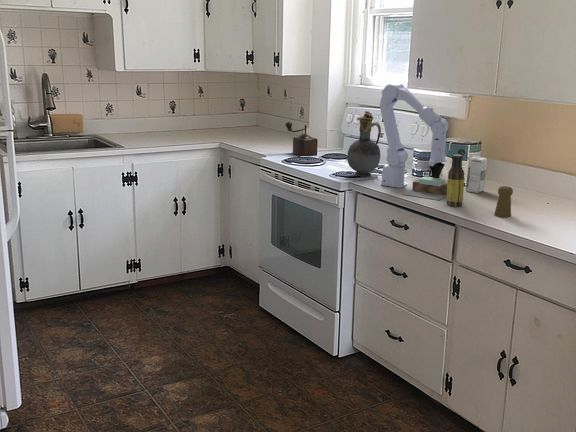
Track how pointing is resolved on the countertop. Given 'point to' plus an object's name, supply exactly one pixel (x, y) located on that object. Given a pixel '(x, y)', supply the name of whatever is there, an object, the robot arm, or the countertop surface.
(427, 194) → the mat
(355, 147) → the pitcher
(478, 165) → the syrup box
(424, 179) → the pale teal block
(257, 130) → the countertop surface
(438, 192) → the deck
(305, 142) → the manual coffee grinder
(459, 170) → the sauce bottle
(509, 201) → the cork
